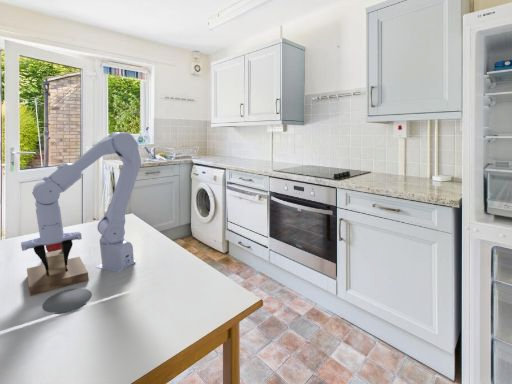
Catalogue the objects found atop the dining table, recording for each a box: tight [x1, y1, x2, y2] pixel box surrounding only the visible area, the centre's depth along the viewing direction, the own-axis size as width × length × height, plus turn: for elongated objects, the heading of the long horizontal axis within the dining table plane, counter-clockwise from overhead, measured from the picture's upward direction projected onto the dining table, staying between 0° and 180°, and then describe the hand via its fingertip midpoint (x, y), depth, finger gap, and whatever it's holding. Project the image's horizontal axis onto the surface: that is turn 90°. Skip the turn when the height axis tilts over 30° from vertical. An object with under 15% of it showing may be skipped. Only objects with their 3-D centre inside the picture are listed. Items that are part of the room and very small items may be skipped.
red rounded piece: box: [45, 243, 62, 252], centre depth 106 cm, size 6×6×8 cm
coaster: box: [42, 287, 93, 315], centre depth 78 cm, size 11×11×1 cm
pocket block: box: [26, 256, 90, 297], centre depth 89 cm, size 14×14×3 cm
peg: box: [46, 249, 66, 276], centre depth 89 cm, size 4×4×8 cm
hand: (56, 266), depth 89 cm, fingers closed on peg, 4 cm apart
